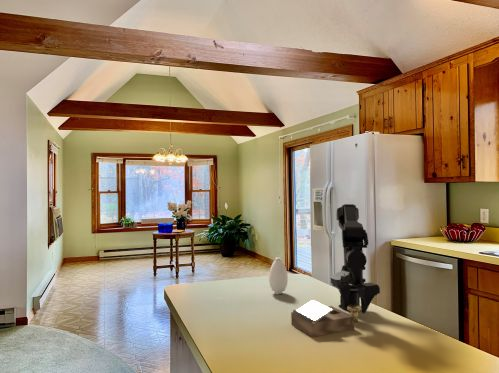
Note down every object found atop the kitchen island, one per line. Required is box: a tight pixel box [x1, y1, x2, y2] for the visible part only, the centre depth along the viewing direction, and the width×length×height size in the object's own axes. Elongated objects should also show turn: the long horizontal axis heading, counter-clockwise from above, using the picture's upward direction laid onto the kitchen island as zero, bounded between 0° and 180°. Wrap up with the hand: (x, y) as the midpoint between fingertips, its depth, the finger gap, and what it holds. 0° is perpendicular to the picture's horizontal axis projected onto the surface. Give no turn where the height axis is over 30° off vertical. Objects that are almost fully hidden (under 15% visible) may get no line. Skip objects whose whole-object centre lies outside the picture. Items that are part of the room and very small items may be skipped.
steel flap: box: [295, 299, 333, 322], centre depth 121 cm, size 7×11×1 cm, turn 24°
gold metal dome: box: [346, 305, 362, 323], centre depth 127 cm, size 5×5×5 cm
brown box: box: [290, 305, 355, 338], centre depth 122 cm, size 16×12×5 cm
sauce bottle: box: [268, 252, 289, 295], centre depth 162 cm, size 8×8×18 cm
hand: (354, 309), depth 128 cm, fingers open, 9 cm apart
